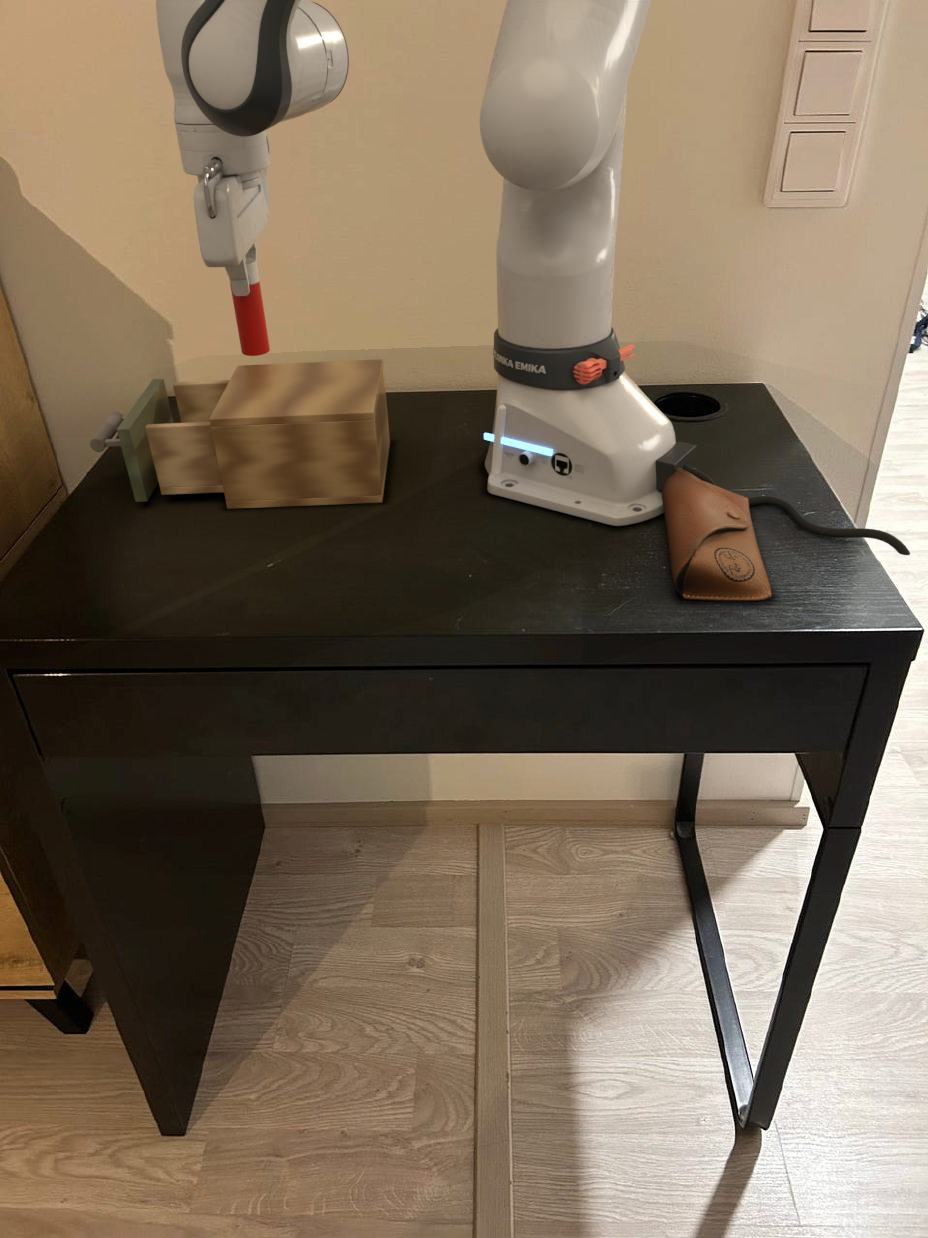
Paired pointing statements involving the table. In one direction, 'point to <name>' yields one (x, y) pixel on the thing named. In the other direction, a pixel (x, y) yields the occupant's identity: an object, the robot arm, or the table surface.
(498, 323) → the robot arm
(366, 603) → the table surface
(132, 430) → the drawer
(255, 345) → the glue stick
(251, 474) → the cabinet
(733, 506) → the sunglasses case
